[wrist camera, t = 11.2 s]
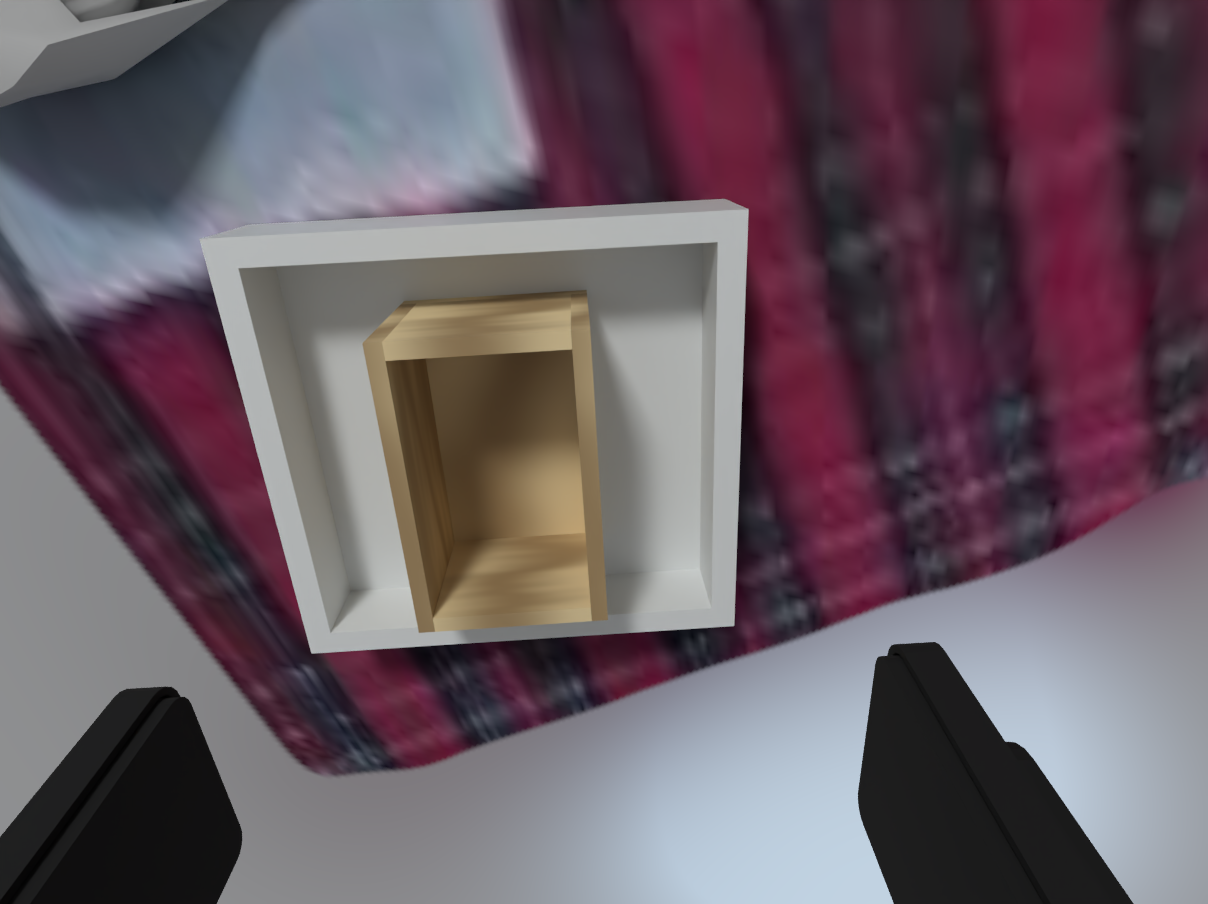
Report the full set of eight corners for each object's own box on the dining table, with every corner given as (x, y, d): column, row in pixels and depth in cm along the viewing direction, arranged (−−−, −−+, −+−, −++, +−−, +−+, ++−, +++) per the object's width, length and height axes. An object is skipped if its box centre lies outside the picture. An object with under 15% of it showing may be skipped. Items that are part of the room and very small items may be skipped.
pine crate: (586, 289, 27) (590, 329, 22) (601, 536, 32) (607, 620, 27) (404, 301, 27) (362, 343, 22) (445, 546, 32) (418, 632, 26)
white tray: (724, 198, 27) (748, 209, 24) (716, 573, 34) (734, 626, 31) (249, 224, 27) (199, 238, 23) (339, 597, 34) (311, 653, 30)
